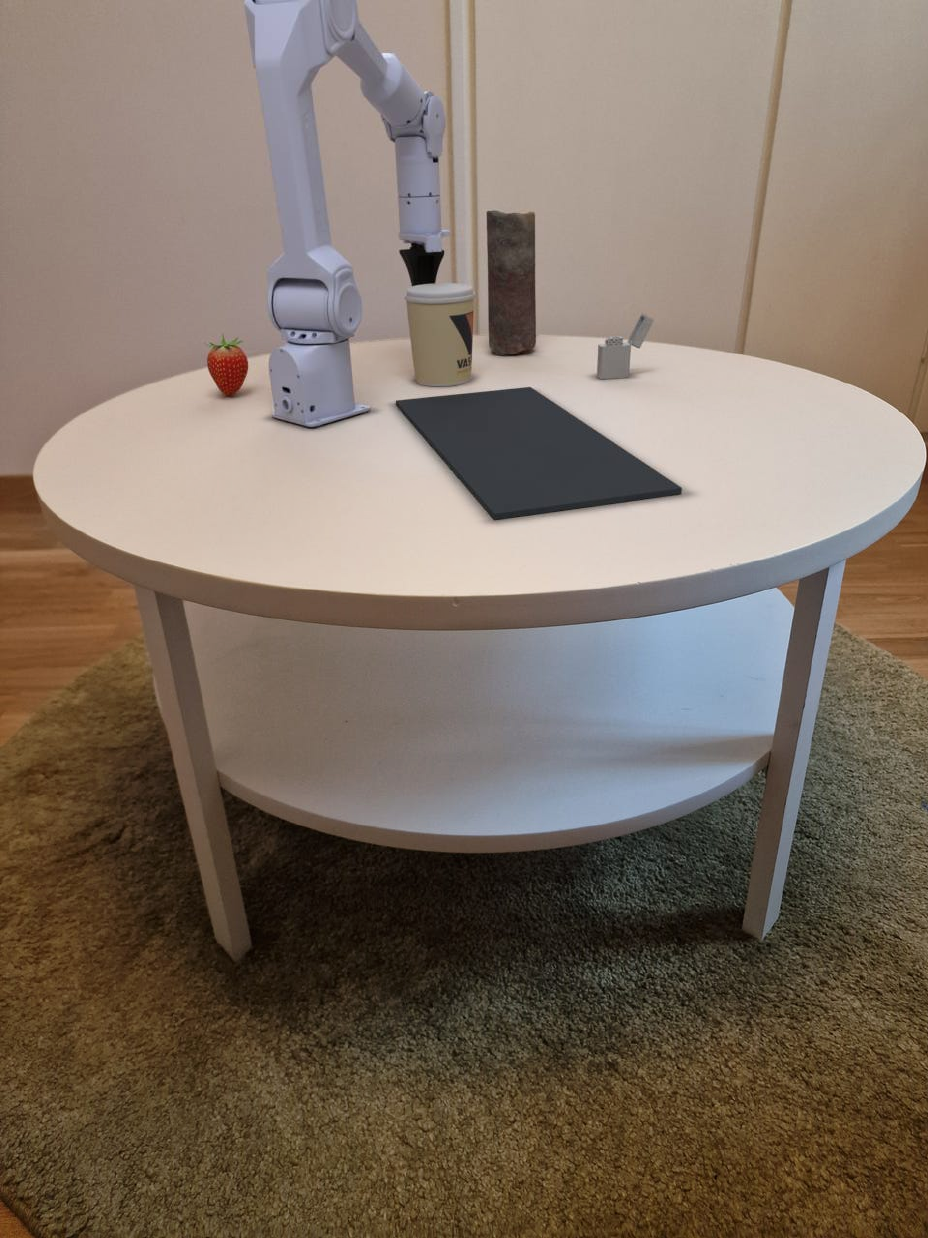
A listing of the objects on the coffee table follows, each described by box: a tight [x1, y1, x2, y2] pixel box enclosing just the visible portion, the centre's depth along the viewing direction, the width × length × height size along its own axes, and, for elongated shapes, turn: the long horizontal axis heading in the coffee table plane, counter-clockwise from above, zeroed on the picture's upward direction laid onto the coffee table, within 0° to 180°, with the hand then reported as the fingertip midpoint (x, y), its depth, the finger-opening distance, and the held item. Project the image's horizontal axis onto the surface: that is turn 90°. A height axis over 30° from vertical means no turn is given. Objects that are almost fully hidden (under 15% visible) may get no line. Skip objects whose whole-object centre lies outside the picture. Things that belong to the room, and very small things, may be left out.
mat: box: [395, 386, 683, 521], centre depth 92 cm, size 40×18×1 cm, turn 16°
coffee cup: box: [404, 282, 476, 387], centre depth 115 cm, size 9×9×12 cm
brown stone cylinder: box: [486, 210, 537, 356], centre depth 128 cm, size 8×7×20 cm
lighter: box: [596, 313, 655, 380], centre depth 115 cm, size 7×2×8 cm, turn 100°
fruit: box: [204, 333, 249, 397], centre depth 112 cm, size 5×5×8 cm
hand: (424, 302), depth 121 cm, fingers closed
